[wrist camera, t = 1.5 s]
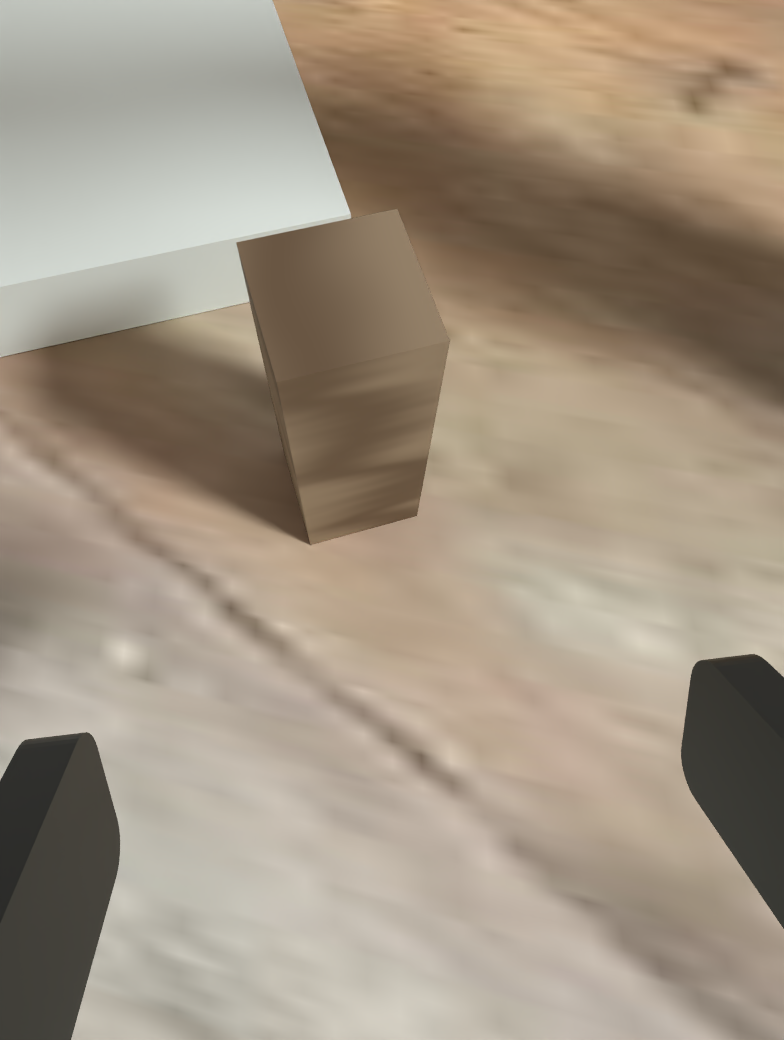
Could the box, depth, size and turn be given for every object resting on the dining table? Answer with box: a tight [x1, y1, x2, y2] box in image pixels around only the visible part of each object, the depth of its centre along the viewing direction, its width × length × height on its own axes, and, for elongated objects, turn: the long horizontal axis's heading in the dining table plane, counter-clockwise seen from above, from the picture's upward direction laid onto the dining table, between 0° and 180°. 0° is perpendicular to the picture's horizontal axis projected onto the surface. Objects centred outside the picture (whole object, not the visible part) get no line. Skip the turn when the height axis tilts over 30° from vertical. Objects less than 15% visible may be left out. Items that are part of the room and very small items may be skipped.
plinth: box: [0, 0, 351, 357], centre depth 34 cm, size 20×20×4 cm
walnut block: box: [236, 209, 450, 545], centre depth 24 cm, size 4×4×12 cm
